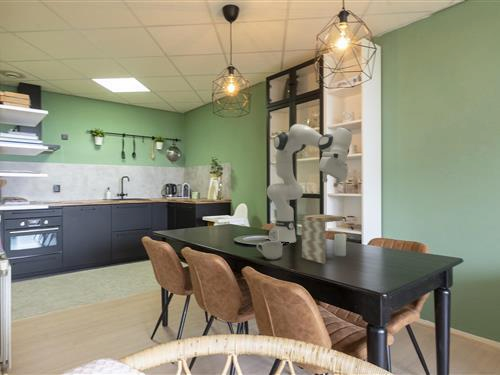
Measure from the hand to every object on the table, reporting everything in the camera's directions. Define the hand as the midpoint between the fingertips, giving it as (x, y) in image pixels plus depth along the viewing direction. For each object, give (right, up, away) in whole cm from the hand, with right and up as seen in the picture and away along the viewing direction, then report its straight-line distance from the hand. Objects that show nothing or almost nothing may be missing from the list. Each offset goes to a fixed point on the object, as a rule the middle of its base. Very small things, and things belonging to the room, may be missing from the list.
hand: (330, 184), depth 154 cm
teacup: (-30, -39, +7) cm, 49 cm away
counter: (-3, -38, +4) cm, 39 cm away
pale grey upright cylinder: (+9, -38, +12) cm, 41 cm away
